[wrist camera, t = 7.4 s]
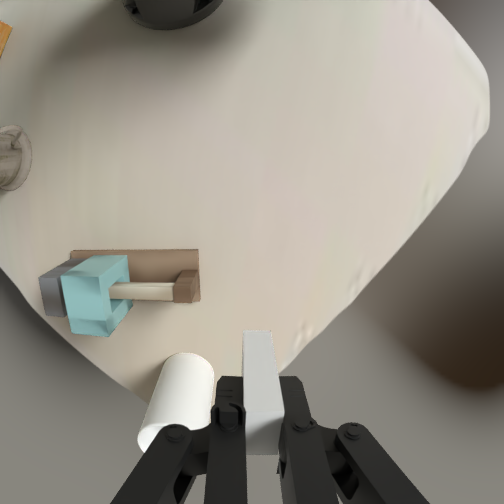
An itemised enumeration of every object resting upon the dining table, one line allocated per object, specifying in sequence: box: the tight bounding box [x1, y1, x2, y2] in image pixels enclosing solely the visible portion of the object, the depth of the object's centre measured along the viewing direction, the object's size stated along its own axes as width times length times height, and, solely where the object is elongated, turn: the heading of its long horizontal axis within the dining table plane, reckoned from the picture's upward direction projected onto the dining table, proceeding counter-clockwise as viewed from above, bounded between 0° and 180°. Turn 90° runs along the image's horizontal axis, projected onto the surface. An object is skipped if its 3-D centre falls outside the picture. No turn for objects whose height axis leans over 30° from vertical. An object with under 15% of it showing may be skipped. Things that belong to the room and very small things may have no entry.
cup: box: [138, 353, 214, 453], centre depth 39 cm, size 8×8×16 cm
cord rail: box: [38, 249, 200, 317], centre depth 37 cm, size 7×19×10 cm, turn 90°
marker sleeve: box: [61, 255, 133, 337], centre depth 35 cm, size 7×5×9 cm
